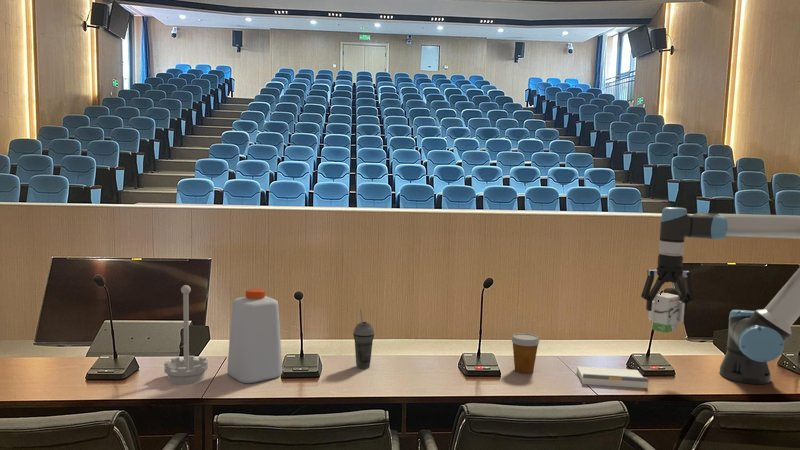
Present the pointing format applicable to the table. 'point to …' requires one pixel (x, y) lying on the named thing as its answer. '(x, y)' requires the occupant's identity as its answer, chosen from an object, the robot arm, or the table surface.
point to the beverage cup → (363, 343)
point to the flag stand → (186, 355)
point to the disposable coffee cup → (524, 351)
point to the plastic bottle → (254, 338)
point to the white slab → (611, 377)
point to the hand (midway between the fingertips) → (665, 320)
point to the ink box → (666, 312)
